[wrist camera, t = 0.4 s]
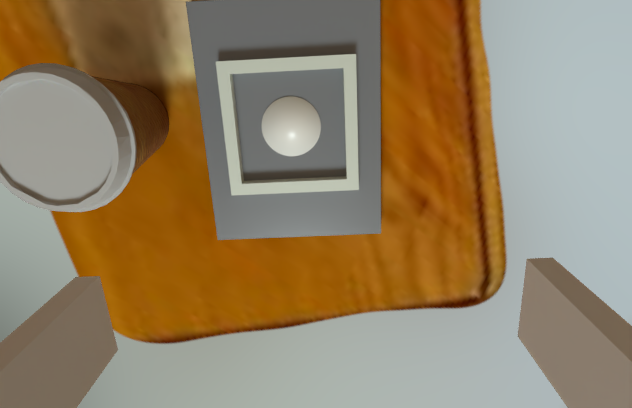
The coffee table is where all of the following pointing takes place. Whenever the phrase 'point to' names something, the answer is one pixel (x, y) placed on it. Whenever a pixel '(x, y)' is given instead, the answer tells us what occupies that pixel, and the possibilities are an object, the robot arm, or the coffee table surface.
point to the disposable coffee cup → (74, 136)
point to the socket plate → (290, 115)
